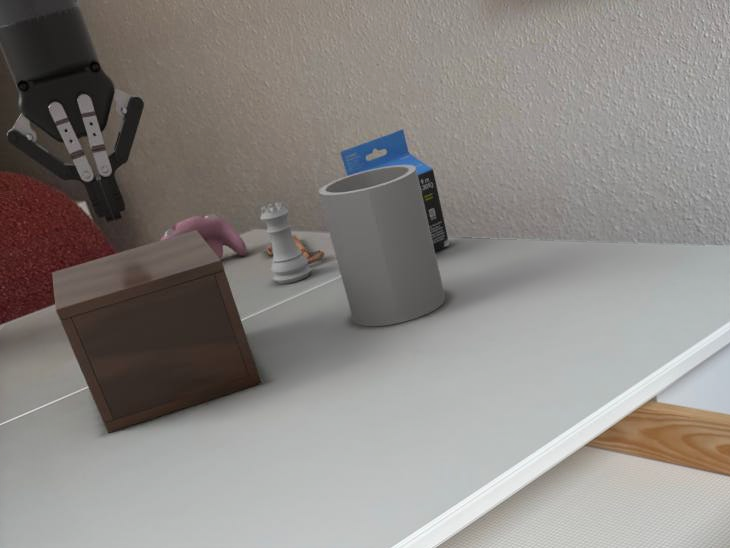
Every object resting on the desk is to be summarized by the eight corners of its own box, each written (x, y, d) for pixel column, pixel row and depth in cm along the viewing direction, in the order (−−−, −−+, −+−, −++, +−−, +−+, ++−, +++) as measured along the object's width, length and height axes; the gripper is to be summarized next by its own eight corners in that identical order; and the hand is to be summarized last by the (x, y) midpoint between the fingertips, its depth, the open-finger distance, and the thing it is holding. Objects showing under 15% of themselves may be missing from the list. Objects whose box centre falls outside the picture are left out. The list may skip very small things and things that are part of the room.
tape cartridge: (390, 273, 118) (359, 151, 111) (368, 270, 121) (337, 152, 114) (451, 245, 122) (425, 127, 115) (429, 244, 125) (402, 128, 118)
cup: (444, 313, 102) (413, 178, 95) (349, 333, 103) (312, 201, 96) (445, 285, 109) (417, 158, 103) (357, 304, 110) (324, 180, 104)
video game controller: (242, 264, 143) (215, 213, 142) (252, 250, 139) (224, 198, 138) (176, 290, 138) (147, 238, 137) (184, 276, 134) (155, 223, 133)
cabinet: (98, 383, 107) (51, 272, 101) (234, 340, 109) (196, 229, 103) (107, 433, 94) (55, 309, 88) (261, 383, 96) (220, 259, 90)
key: (267, 252, 140) (280, 276, 127) (264, 245, 139) (277, 269, 127) (309, 236, 140) (327, 258, 128) (306, 229, 140) (324, 251, 127)
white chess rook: (266, 285, 125) (244, 212, 120) (292, 271, 128) (271, 200, 123) (295, 284, 122) (272, 210, 118) (320, 270, 125) (299, 198, 121)
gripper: (107, -6, 98) (177, 194, 108) (-41, 32, 96) (44, 233, 105) (113, -8, 92) (186, 205, 102) (-45, 33, 90) (45, 246, 99)
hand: (113, 219), depth 103 cm, fingers closed
